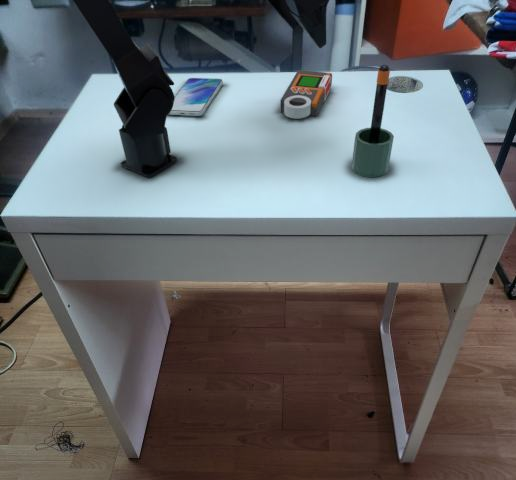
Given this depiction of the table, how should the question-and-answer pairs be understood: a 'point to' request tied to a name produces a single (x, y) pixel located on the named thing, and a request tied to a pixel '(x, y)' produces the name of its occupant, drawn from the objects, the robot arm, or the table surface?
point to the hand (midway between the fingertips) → (308, 36)
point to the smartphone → (195, 96)
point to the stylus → (379, 103)
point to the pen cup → (372, 153)
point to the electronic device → (306, 94)
